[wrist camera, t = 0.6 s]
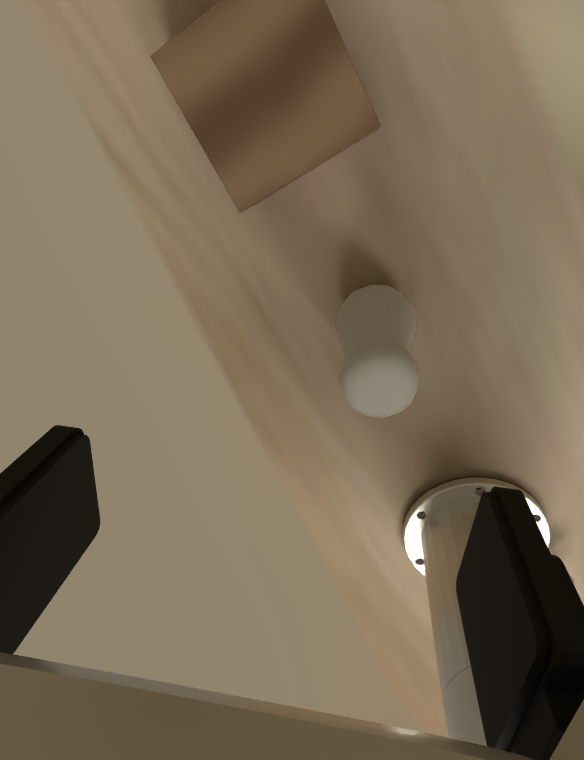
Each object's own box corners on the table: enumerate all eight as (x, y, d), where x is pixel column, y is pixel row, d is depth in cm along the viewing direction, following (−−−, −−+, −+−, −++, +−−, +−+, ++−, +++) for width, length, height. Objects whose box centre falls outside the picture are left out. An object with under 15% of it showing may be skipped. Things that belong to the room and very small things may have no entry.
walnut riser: (379, 128, 32) (380, 125, 29) (252, 206, 35) (239, 212, 32) (305, -36, 29) (296, -61, 25) (174, 66, 32) (150, 56, 29)
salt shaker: (324, 327, 39) (305, 404, 27) (361, 263, 36) (358, 317, 24) (388, 361, 39) (397, 452, 27) (429, 300, 37) (458, 371, 25)
